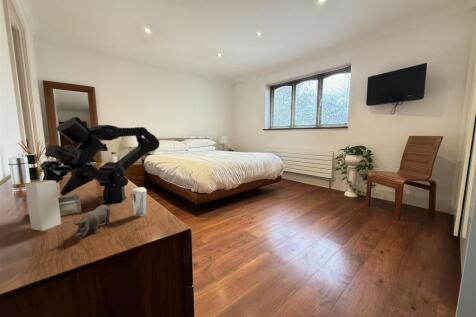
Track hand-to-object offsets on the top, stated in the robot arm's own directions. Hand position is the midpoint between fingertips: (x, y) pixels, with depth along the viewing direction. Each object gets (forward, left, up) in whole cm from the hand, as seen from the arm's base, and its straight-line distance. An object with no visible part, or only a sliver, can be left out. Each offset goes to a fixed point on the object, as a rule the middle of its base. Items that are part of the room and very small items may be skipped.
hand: (50, 193), depth 57 cm
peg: (+1, +2, -9) cm, 9 cm away
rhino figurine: (-14, +9, -9) cm, 19 cm away
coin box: (+4, -10, -9) cm, 14 cm away
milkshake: (-23, 0, -9) cm, 25 cm away
